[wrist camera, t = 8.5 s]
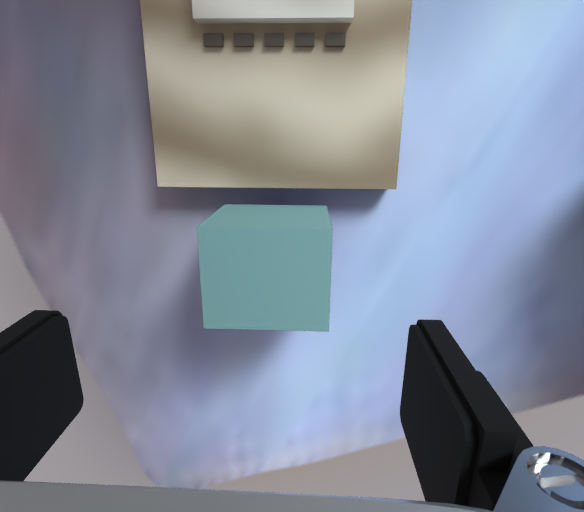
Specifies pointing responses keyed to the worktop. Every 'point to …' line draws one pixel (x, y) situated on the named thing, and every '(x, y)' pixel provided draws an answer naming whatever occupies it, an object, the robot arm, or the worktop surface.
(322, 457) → the worktop surface
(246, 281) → the block
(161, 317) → the worktop surface
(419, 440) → the robot arm
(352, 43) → the ticket board
